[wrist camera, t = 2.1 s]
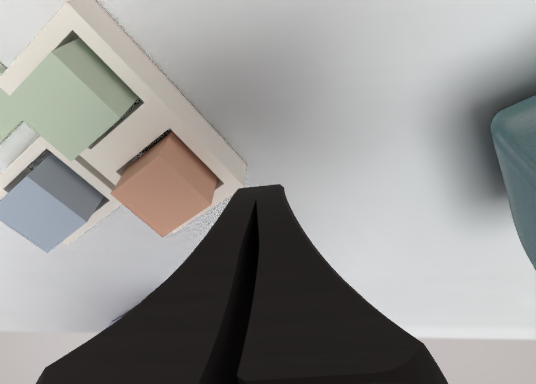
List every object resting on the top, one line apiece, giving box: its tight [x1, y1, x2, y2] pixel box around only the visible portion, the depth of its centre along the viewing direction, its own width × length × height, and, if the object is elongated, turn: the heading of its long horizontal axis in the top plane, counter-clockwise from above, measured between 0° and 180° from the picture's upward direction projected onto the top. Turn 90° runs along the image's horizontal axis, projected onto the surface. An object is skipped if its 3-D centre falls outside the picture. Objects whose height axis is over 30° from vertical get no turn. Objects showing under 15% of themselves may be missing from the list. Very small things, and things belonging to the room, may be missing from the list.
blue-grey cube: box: [0, 153, 104, 253], centre depth 20 cm, size 3×3×3 cm
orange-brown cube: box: [110, 131, 218, 237], centre depth 19 cm, size 3×3×3 cm
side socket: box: [0, 136, 123, 245], centre depth 21 cm, size 5×5×2 cm
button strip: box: [0, 0, 247, 234], centre depth 19 cm, size 5×11×2 cm, turn 38°
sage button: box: [3, 38, 139, 162], centre depth 17 cm, size 3×3×3 cm
